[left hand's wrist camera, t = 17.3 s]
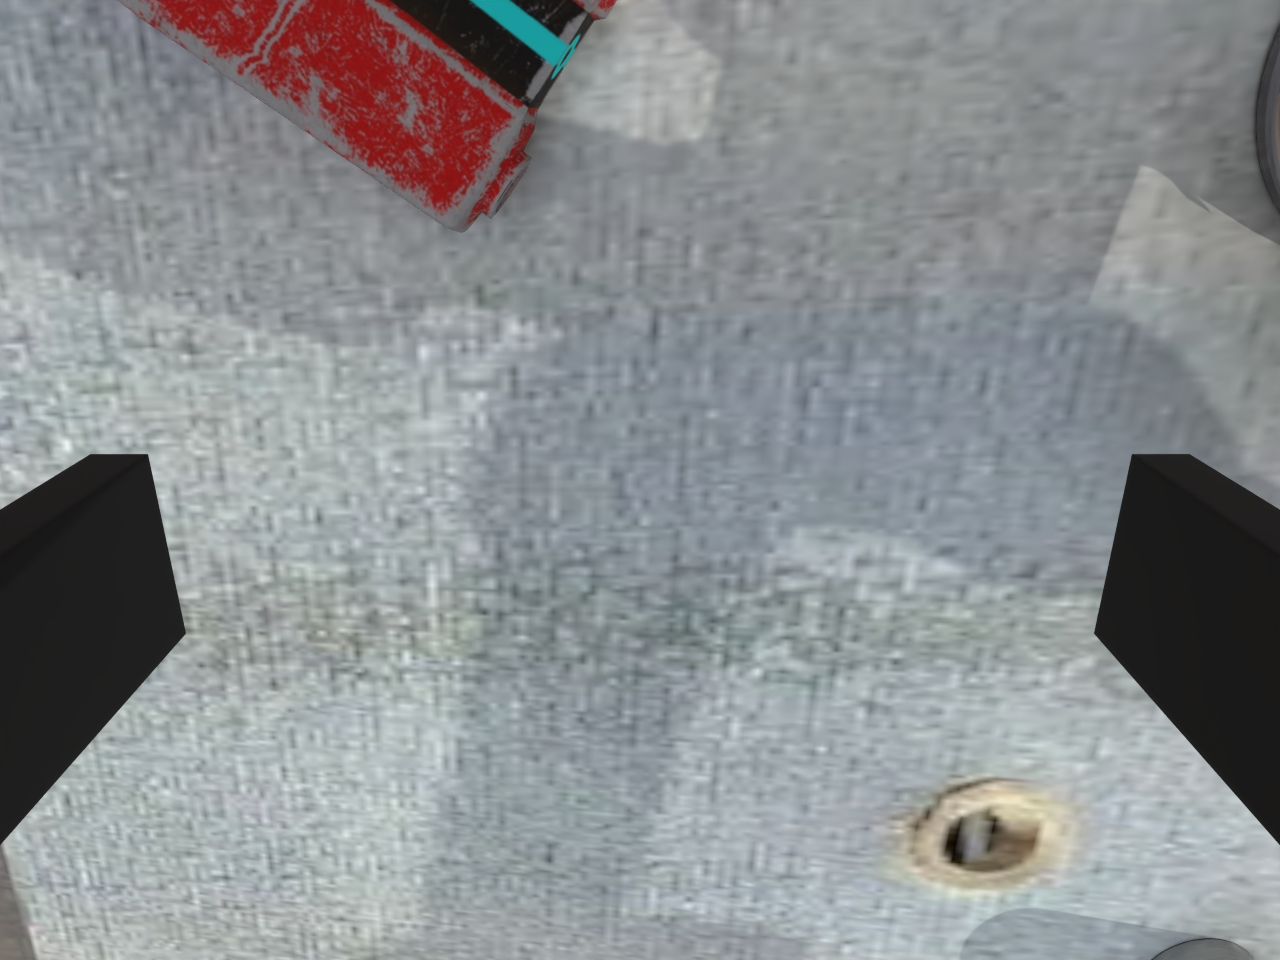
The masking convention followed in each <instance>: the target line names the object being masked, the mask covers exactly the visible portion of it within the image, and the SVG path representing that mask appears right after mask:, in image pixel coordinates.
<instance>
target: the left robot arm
mask: <svg viewBox="0 0 1280 960" xmlns="http://www.w3.org/2000/svg"><path fill="white" fill-rule="evenodd" d="M1256 137H1257V148H1258V156H1259V161H1260V166H1261V171H1262V175H1263V178H1264V181H1265V184H1266V187H1267V190H1268V192H1269V194H1270V196H1271V198H1272V201H1273V203H1274V204H1275V206H1276V208H1277V209H1278V211H1279V213H1280V29H1279V31H1278V33H1277V35H1276V38H1275V40H1274V43H1273V46H1272V48H1271V51H1270V54H1269V56H1268V60H1267V63H1266V67H1265V70H1264V74H1263V77H1262V83H1261V88H1260V93H1259V98H1258V108H1257V127H1256ZM185 634H186V632H185V627H184V622H183V618H182V613H181V608H180V603H179V599H178V594H177V589H176V584H175V580H174V575H173V570H172V566H171V561H170V556H169V551H168V547H167V542H166V537H165V533H164V528H163V523H162V518H161V514H160V509H159V504H158V499H157V495H156V490H155V485H154V481H153V476H152V471H151V466H150V462H149V457H148V454H90V455H88V456H87V457H85V458H84V459H82V460H80V461H79V462H77V463H75V464H74V465H72V466H71V467H69V468H67V469H66V470H64V471H62V472H61V473H59V474H58V475H56V476H54V477H53V478H51V479H49V480H48V481H46V482H45V483H43V484H41V485H40V486H38V487H36V488H35V489H33V490H32V491H30V492H28V493H27V494H25V495H23V496H22V497H20V498H19V499H17V500H15V501H14V502H12V503H10V504H9V505H7V506H6V507H4V508H2V509H1V510H0V845H1V843H2V842H3V841H4V840H5V839H6V838H7V837H8V836H9V834H10V833H11V832H12V831H13V830H14V829H15V828H16V826H17V825H18V824H19V823H20V822H21V821H22V820H23V818H24V817H25V816H26V815H27V814H28V813H29V812H30V810H31V809H32V808H33V807H34V806H35V805H36V804H37V802H38V801H39V800H40V799H41V798H42V797H43V796H44V795H45V793H46V792H47V791H48V790H49V789H50V788H51V787H52V785H53V784H54V783H55V782H56V781H57V780H58V779H59V777H60V776H61V775H62V774H63V773H64V772H65V771H66V769H67V768H68V767H69V766H70V765H71V764H72V763H73V761H74V760H75V759H76V758H77V757H78V756H79V755H80V754H81V752H82V751H83V750H84V749H85V748H86V747H87V746H88V744H89V743H90V742H91V741H92V740H93V739H94V738H95V736H96V735H97V734H98V733H99V732H100V731H101V730H102V728H103V727H104V726H105V725H106V724H107V723H108V722H109V720H110V719H111V718H112V717H113V716H114V715H115V714H116V713H117V711H118V710H119V709H120V708H121V707H122V706H123V705H124V703H125V702H126V701H127V700H128V699H129V698H130V697H131V695H132V694H133V693H134V692H135V691H136V690H137V689H138V687H139V686H140V685H141V684H142V683H143V682H144V681H145V679H146V678H147V677H148V676H149V675H150V674H151V673H152V672H153V670H154V669H155V668H156V667H157V666H158V665H159V664H160V662H161V661H162V660H163V659H164V658H165V657H166V656H167V654H168V653H169V652H170V651H171V650H172V649H173V648H174V646H175V645H176V644H177V643H178V642H179V641H180V640H181V639H182V637H183V636H184V635H185ZM1094 634H1095V635H1096V636H1097V637H1098V639H1099V640H1100V641H1101V642H1102V643H1103V644H1104V645H1105V646H1106V648H1107V649H1108V650H1109V651H1110V652H1111V653H1112V654H1113V656H1114V657H1115V658H1116V659H1117V660H1118V661H1119V662H1120V664H1121V665H1122V666H1123V667H1124V668H1125V669H1126V670H1127V672H1128V673H1129V674H1130V675H1131V676H1132V677H1133V678H1134V679H1135V681H1136V682H1137V683H1138V684H1139V685H1140V686H1141V687H1142V689H1143V690H1144V691H1145V692H1146V693H1147V694H1148V695H1149V697H1150V698H1151V699H1152V700H1153V701H1154V702H1155V703H1156V705H1157V706H1158V707H1159V708H1160V709H1161V710H1162V711H1163V713H1164V714H1165V715H1166V716H1167V717H1168V718H1169V719H1170V720H1171V722H1172V723H1173V724H1174V725H1175V726H1176V727H1177V728H1178V730H1179V731H1180V732H1181V733H1182V734H1183V735H1184V736H1185V738H1186V739H1187V740H1188V741H1189V742H1190V743H1191V744H1192V746H1193V747H1194V748H1195V749H1196V750H1197V751H1198V752H1199V754H1200V755H1201V756H1202V757H1203V758H1204V759H1205V760H1206V761H1207V763H1208V764H1209V765H1210V766H1211V767H1212V768H1213V769H1214V771H1215V772H1216V773H1217V774H1218V775H1219V776H1220V777H1221V779H1222V780H1223V781H1224V782H1225V783H1226V784H1227V785H1228V787H1229V788H1230V789H1231V790H1232V791H1233V792H1234V793H1235V795H1236V796H1237V797H1238V798H1239V799H1240V800H1241V801H1242V802H1243V804H1244V805H1245V806H1246V807H1247V808H1248V809H1249V810H1250V812H1251V813H1252V814H1253V815H1254V816H1255V817H1256V818H1257V820H1258V821H1259V822H1260V823H1261V824H1262V825H1263V826H1264V828H1265V829H1266V830H1267V831H1268V832H1269V833H1270V834H1271V836H1272V837H1273V838H1274V839H1275V840H1276V841H1277V842H1278V843H1279V845H1280V510H1279V509H1278V508H1276V507H1274V506H1273V505H1271V504H1270V503H1268V502H1266V501H1265V500H1263V499H1261V498H1260V497H1258V496H1257V495H1255V494H1253V493H1252V492H1250V491H1248V490H1247V489H1245V488H1244V487H1242V486H1240V485H1239V484H1237V483H1235V482H1234V481H1232V480H1231V479H1229V478H1227V477H1226V476H1224V475H1222V474H1221V473H1219V472H1218V471H1216V470H1214V469H1213V468H1211V467H1209V466H1208V465H1206V464H1205V463H1203V462H1201V461H1200V460H1198V459H1196V458H1195V457H1193V456H1192V455H1190V454H1132V457H1131V462H1130V466H1129V471H1128V476H1127V481H1126V485H1125V490H1124V495H1123V499H1122V504H1121V509H1120V514H1119V518H1118V523H1117V528H1116V533H1115V537H1114V542H1113V547H1112V551H1111V556H1110V561H1109V566H1108V570H1107V575H1106V580H1105V584H1104V589H1103V594H1102V599H1101V603H1100V608H1099V613H1098V617H1097V622H1096V627H1095V632H1094Z"/></svg>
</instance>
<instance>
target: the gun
mask: <svg viewBox="0 0 1280 960" xmlns="http://www.w3.org/2000/svg"><path fill="white" fill-rule="evenodd" d="M118 1H120V2H121V3H122V4H123V5H125V6H126V7H127V8H128V9H130V10H131V11H132V12H133V13H135V14H136V15H137V16H138V17H140V18H141V19H143V20H144V21H146V22H147V23H149V24H150V25H151V26H153V27H154V28H156V29H157V30H159V31H160V32H162V33H163V34H165V35H166V36H168V37H169V38H170V39H172V40H173V41H175V42H176V43H178V44H179V45H181V46H182V47H184V48H185V49H186V50H188V51H189V52H191V53H192V54H194V55H195V56H197V57H198V58H200V59H201V60H203V61H204V62H205V63H207V64H208V65H210V66H211V67H213V68H214V69H216V70H217V71H219V72H220V73H221V74H223V75H224V76H226V77H227V78H229V79H230V80H232V81H233V82H235V83H236V84H237V85H239V86H240V87H242V88H243V89H245V90H246V91H248V92H249V93H251V94H252V95H254V96H255V97H256V98H258V99H259V100H261V101H262V102H264V103H265V104H267V105H268V106H270V107H271V108H272V109H274V110H275V111H277V112H278V113H280V114H281V115H283V116H284V117H286V118H287V119H289V120H290V121H291V122H293V123H294V124H296V125H297V126H299V127H300V128H302V129H303V130H305V131H306V132H307V133H309V134H310V135H312V136H313V137H315V138H316V139H318V140H319V141H321V142H322V143H324V144H325V145H326V146H328V147H329V148H331V149H332V150H334V151H335V152H337V153H338V154H340V155H341V156H342V157H344V158H345V159H347V160H348V161H350V162H351V163H353V164H354V165H356V166H357V167H358V168H360V169H361V170H363V171H364V172H366V173H367V174H369V175H370V176H372V177H373V178H375V179H376V180H377V181H379V182H380V183H382V184H383V185H385V186H386V187H388V188H389V189H391V190H392V191H393V192H395V193H396V194H398V195H399V196H401V197H402V198H404V199H405V200H407V201H408V202H410V203H411V204H412V205H414V206H415V207H417V208H418V209H420V210H421V211H423V212H424V213H426V214H427V215H428V216H430V217H431V218H433V219H434V220H436V221H437V222H439V223H440V224H442V225H443V226H444V227H446V228H449V229H452V230H455V231H458V232H465V231H466V230H467V229H468V228H469V227H470V226H471V224H472V223H473V222H474V221H475V220H476V218H477V217H478V216H479V215H480V213H481V212H483V213H484V214H485V215H487V216H488V217H489V218H492V217H493V216H494V215H495V214H496V213H497V212H498V210H499V209H500V207H501V206H502V205H503V203H504V202H505V201H506V199H507V198H508V196H509V195H510V193H511V192H512V191H513V189H514V188H515V186H516V185H517V183H518V182H519V180H520V178H521V177H522V175H523V174H524V172H525V170H526V168H527V167H528V165H529V163H530V161H531V158H530V157H529V156H528V155H527V154H526V153H524V152H523V150H524V148H525V146H526V144H527V142H528V140H529V138H530V136H531V135H532V133H533V131H534V128H535V120H536V115H537V112H538V109H539V106H540V105H541V103H542V102H543V100H544V99H545V97H546V95H547V94H548V92H549V91H550V89H551V88H552V86H553V84H554V83H555V81H556V80H557V78H558V77H559V75H560V73H561V72H562V70H563V69H564V67H565V66H566V64H567V62H568V61H569V59H570V58H571V56H572V55H573V53H574V51H575V50H576V48H577V47H578V45H579V44H580V42H581V40H582V39H583V37H584V36H585V34H586V33H587V31H588V29H589V28H590V26H591V25H592V23H593V22H594V20H599V19H604V18H606V17H607V15H608V13H609V12H610V10H611V9H612V7H613V5H614V4H615V2H616V0H118Z"/></svg>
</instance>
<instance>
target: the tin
mask: <svg viewBox="0 0 1280 960" xmlns="http://www.w3.org/2000/svg"><path fill="white" fill-rule="evenodd" d="M1153 960H1254V959H1253V957H1252V956H1251V955H1250V954H1249V953H1248V952H1247V951H1246V950H1245V949H1243V948H1242V947H1240V946H1238V945H1237V944H1234V943H1231V942H1228V941H1224V940H1217V939H1202V940H1195V941H1190V942H1186V943H1182V944H1180V945H1177V946H1174V947H1172V948H1170V949H1168V950H1166V951H1164V952H1163V953H1161V954H1159V955H1158V956H1157V957H1155V958H1154V959H1153Z"/></svg>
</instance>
